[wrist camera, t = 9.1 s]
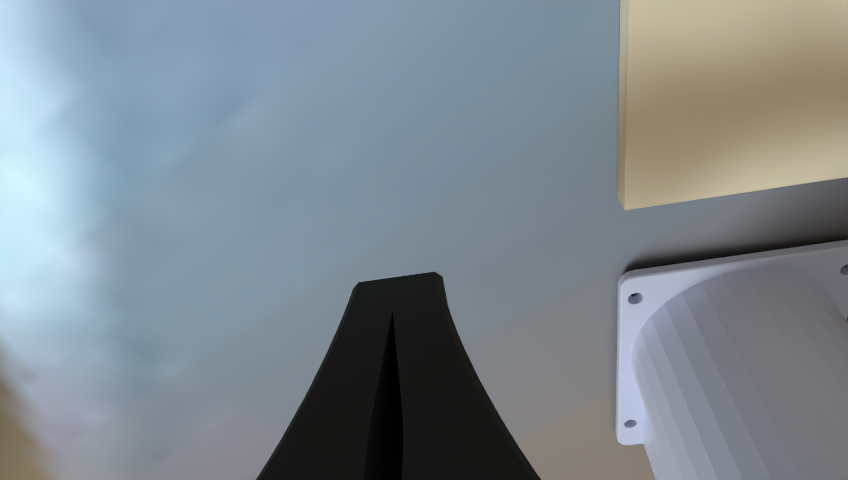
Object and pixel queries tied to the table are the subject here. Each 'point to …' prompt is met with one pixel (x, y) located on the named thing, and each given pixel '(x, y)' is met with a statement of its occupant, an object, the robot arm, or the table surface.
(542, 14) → the table surface
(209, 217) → the table surface
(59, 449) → the table surface
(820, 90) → the board
